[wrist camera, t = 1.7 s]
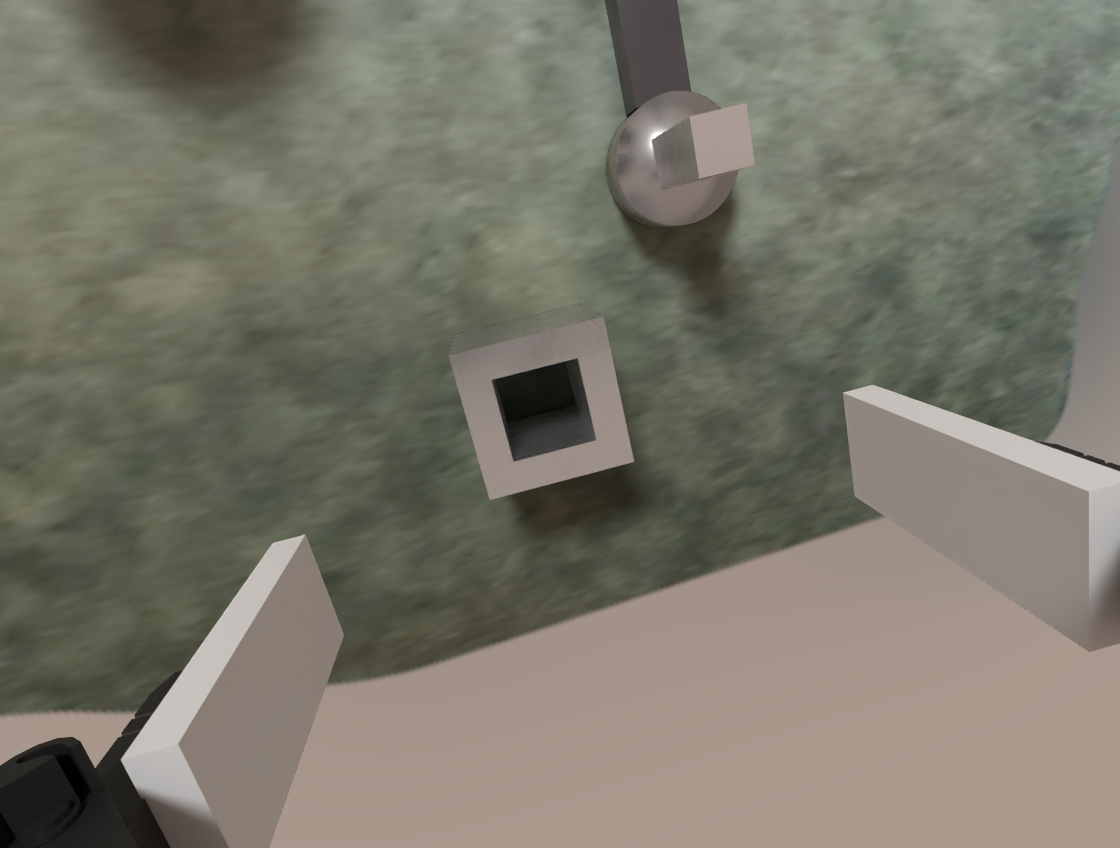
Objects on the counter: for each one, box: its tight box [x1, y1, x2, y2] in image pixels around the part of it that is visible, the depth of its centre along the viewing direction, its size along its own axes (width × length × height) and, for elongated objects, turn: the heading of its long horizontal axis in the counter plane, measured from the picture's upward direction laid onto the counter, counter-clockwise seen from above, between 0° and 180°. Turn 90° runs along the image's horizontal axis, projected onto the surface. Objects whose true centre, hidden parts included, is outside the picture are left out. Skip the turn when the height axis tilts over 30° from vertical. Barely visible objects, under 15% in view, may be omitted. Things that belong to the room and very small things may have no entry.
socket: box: [449, 303, 634, 500], centre depth 28 cm, size 6×6×6 cm
